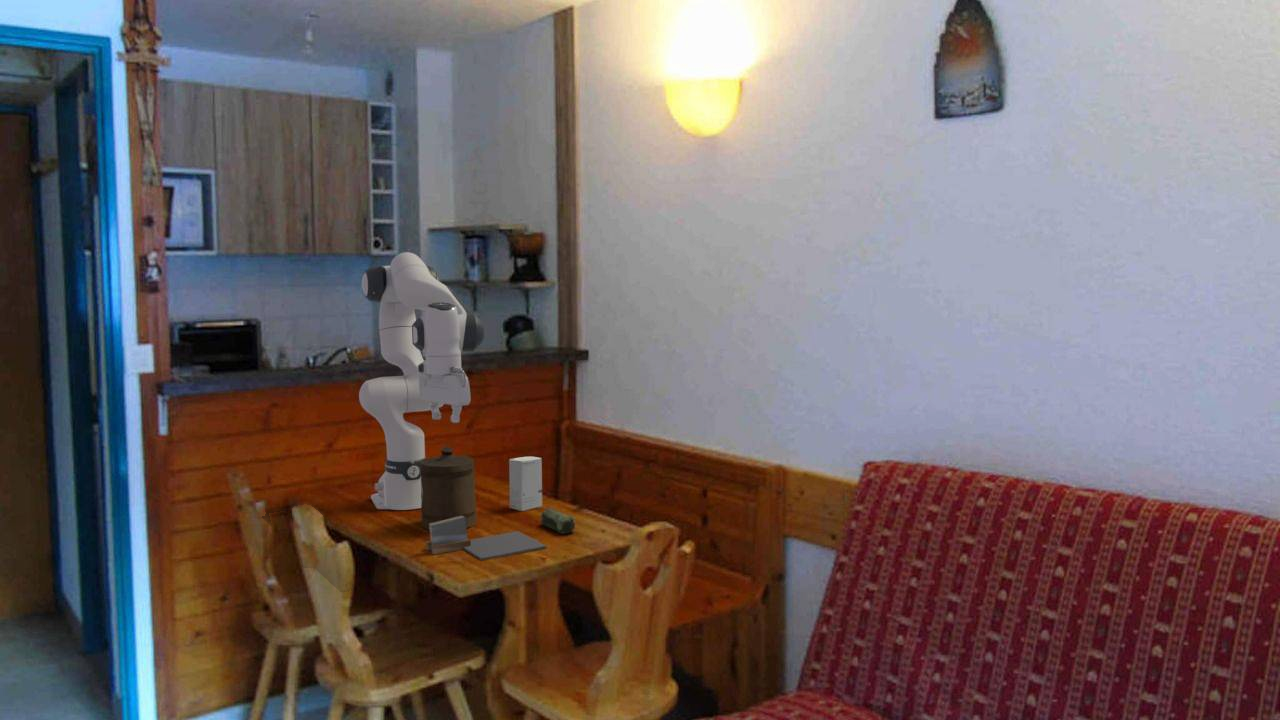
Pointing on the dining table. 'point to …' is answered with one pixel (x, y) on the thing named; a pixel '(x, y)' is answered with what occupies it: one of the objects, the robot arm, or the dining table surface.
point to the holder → (447, 546)
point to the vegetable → (557, 521)
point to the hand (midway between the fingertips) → (445, 420)
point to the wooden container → (447, 488)
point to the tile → (448, 530)
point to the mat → (502, 545)
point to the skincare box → (525, 483)
